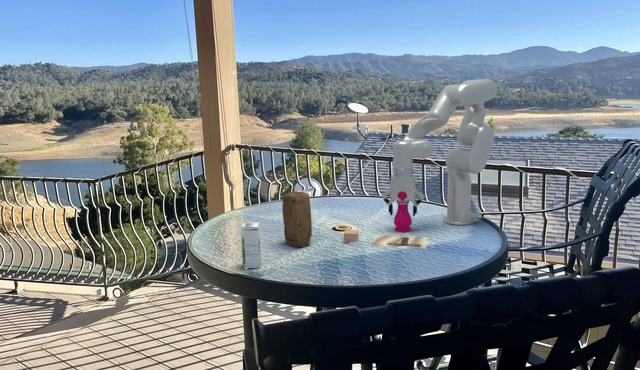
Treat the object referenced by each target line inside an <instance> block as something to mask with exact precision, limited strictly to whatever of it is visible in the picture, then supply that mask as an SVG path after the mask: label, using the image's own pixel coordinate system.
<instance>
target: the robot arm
mask: <svg viewBox="0 0 640 370" xmlns="http://www.w3.org/2000/svg"><path fill="white" fill-rule="evenodd" d="M497 92H498V87H497V84H496V82H495V81H493V80H492V79H488V78H486V79H485V78H483V79H468V80H465V81H462V82H461V83H459V84H458V83H457V84H448V85H445V87H443V88H442V90H441V91H440V93H439V94H438V96H437V97H436V99H435V101H434V103H432V106H431V108H430V109H429V111H428V113H427V114H425V115H424V116H423V117H422V118H420V119H419V120H418V121H417V122H415V123H414V124H413V125H412V126H411V127H410V129H409V130H408V131H407V133H406V134H405V136H404V138H403V139H402V140H396V141H394V142H393V144H392V145H393V146H392V164H393V165H392V175H391V177H390V184H389V185H390V186H389V189H388V190H386V191H385V192H383V193H382V194H381V198H382V199H383V202H385V204H387V206H388V213H389V215H390V216H393V213H394V211H393V210H394V209H393V207H394V206H393V202H397V201H401V199H399V198H398V197H397V195H398V193H399V192H401V191H404V192H406V193H407V198H406V199H404V201H409V202H411V203H412V204H413V206H412V217H415V216H416V214H418V206H419V205H420V203H422V202H423V200H424V198H425V196H426V195H425V194H423V193H422V192H420V191H418V190H417V186H416V185H417V184H416V176H415V175H414V174H416V173H417V169H414V168H413V165H414V163H413V161H414V160H413V159H419V160H422V159H423V160H424V159H427V158H429V157H430V156H432V154H433V152H434V146H433V144H432V142H430V141H429V140H426V139H424V137H425V136H428V134H429V133H431V132H433V131H436V130H439V129H441V128H442V127H444V126H446V124H447V123H448V122H449V121H450V118H451V117H452V116H453V113H454V112H455V111H456V109H457V107H464V112H463V117H462V119H461V122H460V125H459V128H458V131H457V135H456V139H457V143H458V144H459V145H461V146H464V147H471V149H469V148H463V147H457V148H456V147H455V148H452V149H450V150H449V151H448V152H447V154H446V157H445V166H446V173H447V201H446V203H447V204H446V205H447V207H446V208H447V209H446V213H447V214H446V216H444V217H443V219H442V220H443V222H444V223H445V224H449V225H455V226H467V225H472V224H474V222H475V219H477V220H479V219H482V218H483V217H482V213H477V212H476V213H475V212H474V213H473V212H472V210H471V206H472V205H471V202H472V201H471V198H472V196H471V195H472V179H471V174H480V173H481V172H483V170H484V169H485V167H486V166H487V162H488V161H489V157H490V154H491V151H492V149H493V146H494V142H495V131H494V129H493V128H492V127H491V126H489V125H488V124H484V122H485V118H486V109H485V105H484V103H485V102H489V101H491V100H492V99H494V98H495V96H496V95H497ZM388 195H389V199H388V197H387V196H388ZM417 196H418V197H419V199H418V200H416V198H417Z"/></svg>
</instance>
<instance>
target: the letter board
mask: <svg viewBox="0 0 640 370" xmlns="http://www.w3.org/2000/svg"><path fill="white" fill-rule="evenodd" d="M427 243H428V237H425V236H409V235H408V236H407V235H406V236H405V235H386V234H385V235H383V234H380V235H378V234H375V235H374V237H373V239H372V241H371V243H370V246H372V247H373V246H374V247H393V248H394V247H395V248H413V249H427Z"/></svg>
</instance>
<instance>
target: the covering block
mask: <svg viewBox="0 0 640 370" xmlns="http://www.w3.org/2000/svg"><path fill="white" fill-rule="evenodd" d="M359 236H360V235H359V230H358V229H345V230H344V232H343V244H351V242H358V240H359Z"/></svg>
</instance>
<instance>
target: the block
mask: <svg viewBox="0 0 640 370" xmlns="http://www.w3.org/2000/svg"><path fill="white" fill-rule="evenodd" d="M281 205H282V209H281V210H282V212H281V213H282V220H283V225H284V228H283V229H284V230H283V233H284V235H283V236H284V240H285V242H286V243H288V244H289V245H290V246H293V247H295V248H296V247H297V248H301V247H307V246H309V244H310V242H311V238H312V234H313V233H312V232H313V231H312V230H313V229H312V228H313V227H312V211H311V200H310V194H309V195H308V194H307V193H304V192H298V190H295V191H290V192H288V193H286V194H285V195H284V197H283V200H282V204H281Z"/></svg>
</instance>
